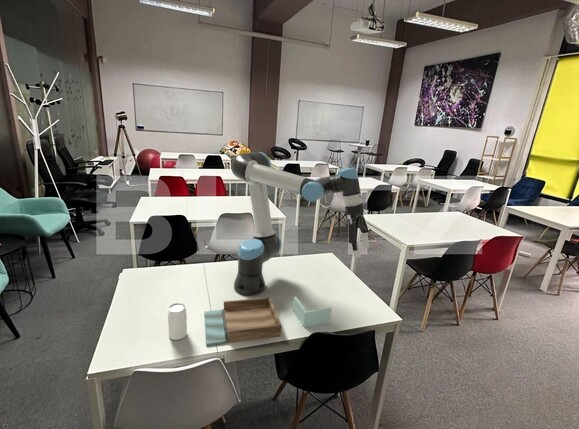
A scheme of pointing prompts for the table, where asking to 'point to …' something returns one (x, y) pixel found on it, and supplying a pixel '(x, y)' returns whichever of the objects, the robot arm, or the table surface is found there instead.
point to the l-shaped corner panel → (310, 314)
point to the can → (177, 321)
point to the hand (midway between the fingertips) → (362, 252)
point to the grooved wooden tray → (242, 321)
